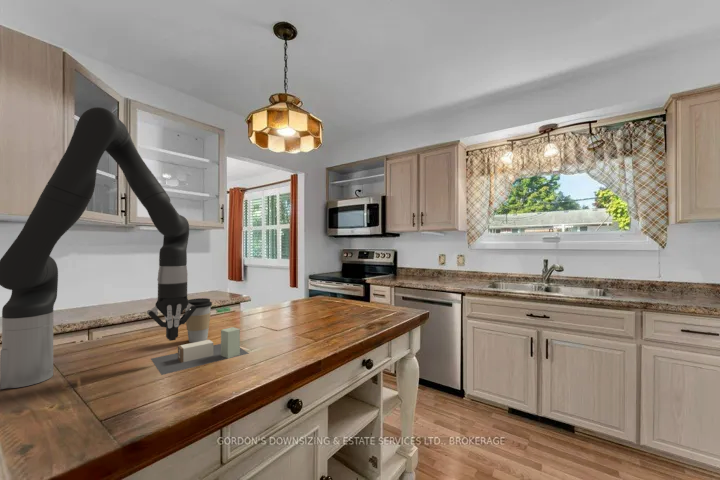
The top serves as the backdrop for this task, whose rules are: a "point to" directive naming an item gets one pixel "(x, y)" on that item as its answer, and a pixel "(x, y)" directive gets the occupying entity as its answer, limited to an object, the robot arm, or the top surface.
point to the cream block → (195, 350)
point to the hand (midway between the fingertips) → (172, 339)
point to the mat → (173, 364)
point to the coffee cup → (199, 320)
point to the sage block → (230, 342)
